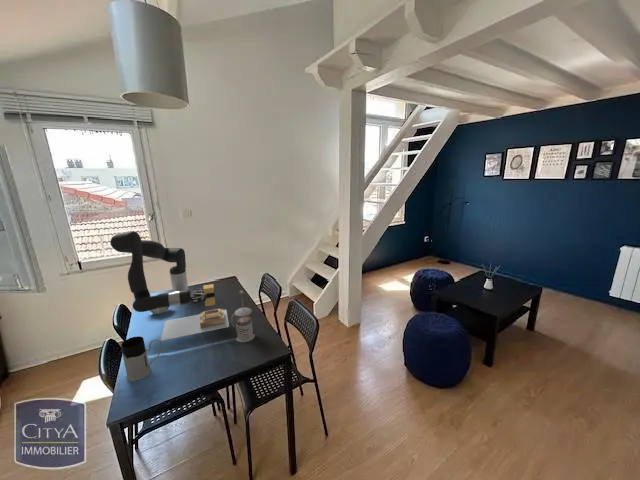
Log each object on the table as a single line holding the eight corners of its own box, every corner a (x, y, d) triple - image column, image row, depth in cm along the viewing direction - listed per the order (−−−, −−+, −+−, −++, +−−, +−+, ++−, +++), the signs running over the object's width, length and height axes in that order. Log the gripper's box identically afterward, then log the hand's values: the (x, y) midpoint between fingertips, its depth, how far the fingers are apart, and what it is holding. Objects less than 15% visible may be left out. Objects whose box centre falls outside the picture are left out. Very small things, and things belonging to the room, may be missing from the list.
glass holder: (128, 369, 116) (122, 338, 113) (166, 360, 122) (161, 330, 118) (123, 384, 109) (116, 351, 105) (164, 373, 114) (159, 341, 110)
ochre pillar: (205, 302, 150) (203, 285, 148) (215, 300, 152) (213, 283, 150) (205, 306, 146) (203, 289, 144) (215, 304, 148) (213, 287, 145)
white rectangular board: (165, 322, 152) (165, 320, 152) (226, 310, 164) (226, 309, 164) (160, 342, 134) (160, 340, 134) (229, 328, 146) (229, 326, 146)
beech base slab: (200, 317, 155) (199, 310, 154) (223, 313, 159) (222, 306, 158) (200, 328, 144) (199, 321, 143) (224, 323, 149) (224, 316, 148)
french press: (249, 343, 134) (246, 296, 127) (228, 340, 136) (223, 294, 130) (258, 331, 143) (255, 287, 137) (237, 329, 145) (233, 285, 139)
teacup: (149, 310, 165) (147, 297, 163) (172, 305, 171) (171, 293, 169) (146, 322, 152) (143, 309, 150) (171, 317, 157) (169, 304, 155)
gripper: (177, 297, 135) (214, 291, 141) (179, 285, 148) (213, 281, 154) (179, 310, 137) (215, 304, 143) (181, 298, 150) (214, 293, 156)
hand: (214, 292), depth 149 cm, fingers closed on ochre pillar, 5 cm apart
